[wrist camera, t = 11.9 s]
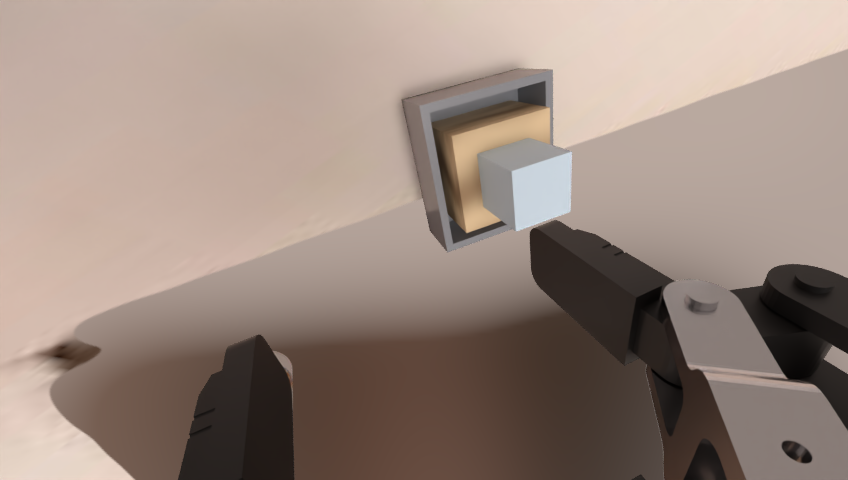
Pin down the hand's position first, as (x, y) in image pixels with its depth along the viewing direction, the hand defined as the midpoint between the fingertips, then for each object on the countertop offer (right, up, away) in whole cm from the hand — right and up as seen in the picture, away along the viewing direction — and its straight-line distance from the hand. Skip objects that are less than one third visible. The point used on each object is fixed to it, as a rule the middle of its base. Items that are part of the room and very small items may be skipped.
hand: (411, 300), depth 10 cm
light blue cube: (+8, +8, +24) cm, 27 cm away
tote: (+6, +12, +31) cm, 33 cm away
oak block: (+6, +11, +30) cm, 32 cm away
